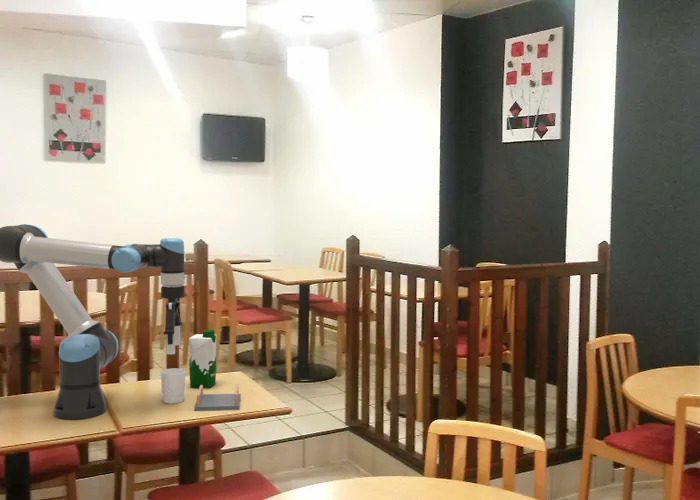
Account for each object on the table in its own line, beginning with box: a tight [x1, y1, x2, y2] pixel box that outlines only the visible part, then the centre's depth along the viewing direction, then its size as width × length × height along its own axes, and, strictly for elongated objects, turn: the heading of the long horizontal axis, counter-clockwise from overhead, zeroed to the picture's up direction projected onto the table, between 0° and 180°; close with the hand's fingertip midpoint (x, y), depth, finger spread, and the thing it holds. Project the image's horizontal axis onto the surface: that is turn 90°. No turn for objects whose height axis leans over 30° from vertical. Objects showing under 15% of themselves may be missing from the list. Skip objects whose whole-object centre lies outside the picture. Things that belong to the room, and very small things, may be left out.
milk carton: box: [188, 329, 218, 389], centre depth 244 cm, size 9×9×20 cm
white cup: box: [160, 367, 186, 404], centre depth 225 cm, size 8×8×10 cm
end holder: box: [193, 383, 242, 412], centre depth 223 cm, size 14×14×5 cm
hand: (173, 349), depth 224 cm, fingers open, 13 cm apart
